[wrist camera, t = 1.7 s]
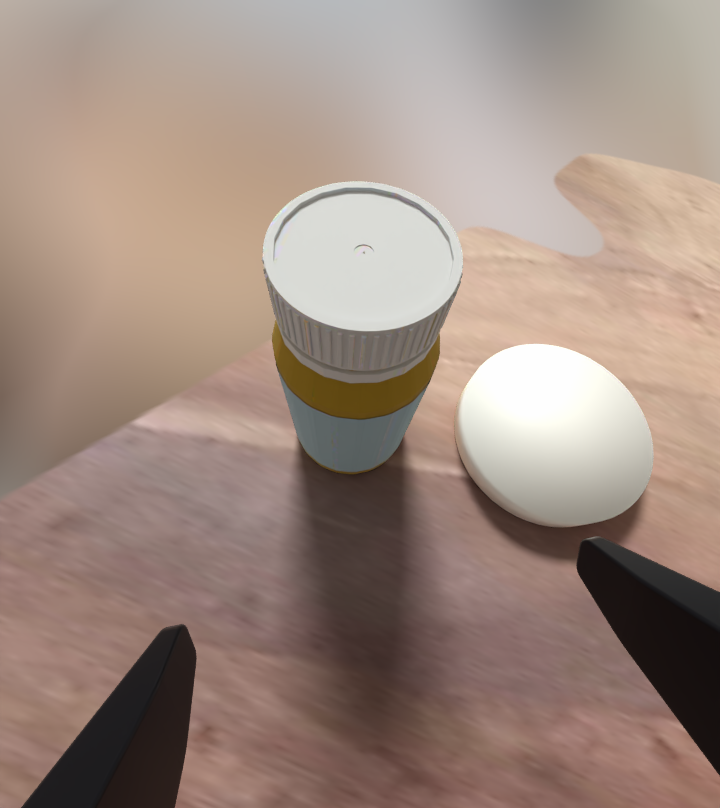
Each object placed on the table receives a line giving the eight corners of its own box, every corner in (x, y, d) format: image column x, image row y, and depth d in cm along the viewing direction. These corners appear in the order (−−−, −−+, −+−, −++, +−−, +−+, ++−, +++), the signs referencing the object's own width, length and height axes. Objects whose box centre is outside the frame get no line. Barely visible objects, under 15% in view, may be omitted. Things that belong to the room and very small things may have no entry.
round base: (652, 416, 26) (675, 405, 25) (594, 569, 22) (617, 569, 20) (500, 331, 29) (511, 315, 27) (421, 455, 24) (428, 445, 23)
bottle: (367, 363, 27) (397, 149, 13) (422, 443, 25) (525, 286, 11) (279, 406, 25) (210, 212, 12) (329, 497, 23) (316, 388, 9)
